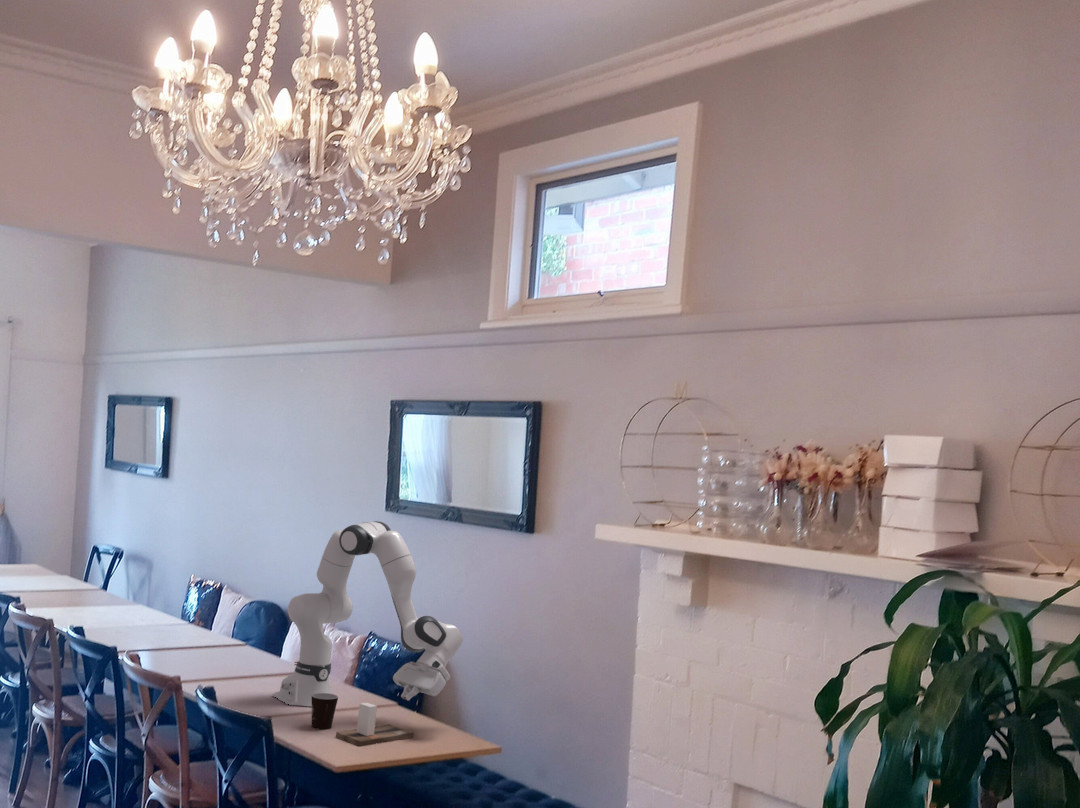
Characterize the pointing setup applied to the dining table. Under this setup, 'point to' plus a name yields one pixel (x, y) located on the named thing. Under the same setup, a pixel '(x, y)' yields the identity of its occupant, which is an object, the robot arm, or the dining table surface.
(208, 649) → the dining table surface
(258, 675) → the dining table surface
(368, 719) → the switch tab
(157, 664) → the dining table surface
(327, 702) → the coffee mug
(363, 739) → the switch board
